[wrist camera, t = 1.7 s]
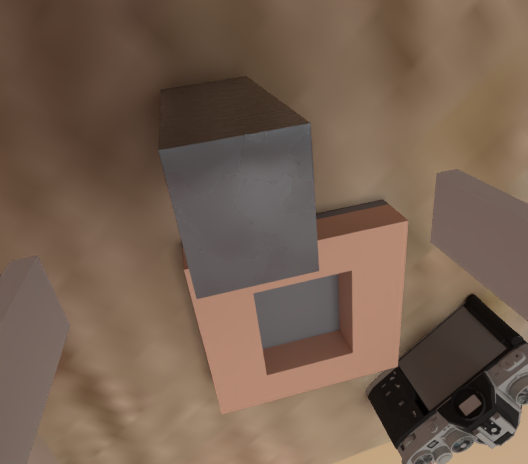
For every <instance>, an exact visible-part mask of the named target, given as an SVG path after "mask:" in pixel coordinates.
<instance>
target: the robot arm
mask: <svg viewBox="0 0 528 464" xmlns="http://www.w3.org/2000/svg"><path fill="white" fill-rule="evenodd" d="M430 242H431V243H432V244H434V245H435V246H436V247H437V248H439V249H440V250H441V251H442V252H443V253H445V254H446V255H447V256H448V257H450V258H451V259H452V260H453V261H454V262H456V263H457V264H458V265H459V266H461V267H462V268H463V269H464V270H465V271H467V272H468V273H469V274H470V275H472V276H473V277H474V278H475V279H476V280H478V281H479V282H480V283H481V284H483V285H484V286H485V287H486V288H487V289H489V290H490V291H491V292H492V293H494V294H495V295H496V296H497V297H499V298H500V299H501V300H502V301H503V302H505V303H506V304H507V305H508V306H510V307H511V308H512V309H513V310H514V311H516V312H517V313H518V314H519V315H521V316H522V317H523V318H524V319H525V320H527V321H528V204H527V203H525V202H523V201H521V200H519V199H517V198H515V197H513V196H511V195H509V194H507V193H505V192H503V191H501V190H499V189H497V188H495V187H493V186H491V185H489V184H487V183H484V182H482V181H480V180H478V179H476V178H474V177H472V176H470V175H468V174H466V173H464V172H462V171H460V170H458V169H454V170H450V171H445V172H440V173H437V177H436V188H435V198H434V209H433V220H432V230H431V241H430ZM69 327H70V324H69V321H68V319H67V317H66V315H65V313H64V311H63V309H62V307H61V304H60V302H59V300H58V298H57V296H56V294H55V292H54V289H53V287H52V285H51V283H50V281H49V279H48V277H47V274H46V272H45V270H44V268H43V266H42V264H41V262H40V259H39V257H38V256H33V257H28V258H23V259H19V260H14V261H10V263H9V265H8V266H7V268H6V269H5V271H4V272H3V274H2V275H1V277H0V464H27V462H28V458H29V455H30V452H31V449H32V446H33V442H34V439H35V436H36V433H37V430H38V426H39V423H40V420H41V417H42V414H43V411H44V407H45V404H46V401H47V398H48V395H49V391H50V388H51V385H52V382H53V379H54V375H55V372H56V369H57V366H58V363H59V359H60V356H61V353H62V350H63V347H64V343H65V340H66V337H67V334H68V331H69Z"/></svg>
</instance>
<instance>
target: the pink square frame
mask: <svg viewBox="0 0 528 464" xmlns="http://www.w3.org/2000/svg"><path fill="white" fill-rule="evenodd" d="M316 224H317V241H318V258H319V271H317V272H313V273H308V274H304V275H300V276H295V277H291V278H287V279H282V280H278V281H274V282H269V283H265V284H261V285H256V286H252V287H248V288H243V289H239V290H235V291H230V292H226V293H222V294H217V295H213V296H209V297H204V298H200V299H196V295H195V291H194V287H193V283H192V279H191V275H190V272H189V268H188V264H187V260H186V256H185V252H184V248H183V244H182V253H183V265H184V272H185V276H186V280H187V284H188V287H189V291H190V295H191V299H192V303H193V306H194V310H195V314H196V318H197V321H198V325H199V329H200V333H201V337H202V340H203V344H204V348H205V352H206V355H207V359H208V363H209V367H210V371H211V374H212V378H213V382H214V386H215V389H216V393H217V397H218V401H219V405H220V408H221V412H222V414H225V413H229V412H232V411H236V410H240V409H243V408H247V407H251V406H254V405H258V404H262V403H266V402H269V401H273V400H277V399H280V398H284V397H288V396H291V395H295V394H299V393H302V392H306V391H310V390H314V389H317V388H321V387H325V386H328V385H332V384H336V383H339V382H343V381H347V380H350V379H354V378H358V377H362V376H365V375H369V374H373V373H376V372H380V371H384V370H387V369H391V368H395V367H398V358H399V344H400V330H401V316H402V302H403V288H404V274H405V260H406V246H407V232H408V220H407V219H406V218H405V217H403V216H402V215H401V214H400V213H399V212H397V211H396V210H395V209H394V208H393V207H391V206H390V205H389V204H388V203H387V202H385V201H384V200H380V201H376V202H371V203H366V204H361V205H357V206H352V207H347V208H342V209H338V210H333V211H328V212H323V213H319V214H316Z"/></svg>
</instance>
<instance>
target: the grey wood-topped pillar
mask: <svg viewBox="0 0 528 464" xmlns="http://www.w3.org/2000/svg"><path fill="white" fill-rule="evenodd" d="M158 151H159V155H160V159H161V162H162V166H163V170H164V174H165V178H166V182H167V186H168V190H169V194H170V198H171V201H172V205H173V209H174V213H175V217H176V221H177V225H178V229H179V233H180V236H181V240H182V244H183V248H184V252H185V256H186V260H187V264H188V268H189V272H190V275H191V279H192V283H193V287H194V291H195V295H196V299H200V298H204V297H209V296H213V295H217V294H222V293H226V292H230V291H235V290H239V289H243V288H248V287H252V286H256V285H261V284H265V283H269V282H274V281H278V280H282V279H287V278H291V277H295V276H300V275H304V274H308V273H313V272H317V271H319V258H318V241H317V224H316V207H315V190H314V173H313V156H312V139H311V123H310V122H308V121H307V120H305V119H304V118H303V117H301V116H300V115H299V114H297V113H296V112H294V111H293V110H292V109H290V108H289V107H288V106H286V105H285V104H283V103H282V102H281V101H279V100H278V99H277V98H275V97H274V96H272V95H271V94H270V93H268V92H267V91H266V90H264V89H263V88H261V87H260V86H259V85H257V84H256V83H255V82H253V81H252V80H251V79H249V78H248V77H246V76H245V77H239V78H233V79H226V80H220V81H214V82H208V83H201V84H195V85H189V86H182V87H176V88H170V89H164V90H161V100H160V124H159V148H158Z"/></svg>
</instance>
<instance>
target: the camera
mask: <svg viewBox="0 0 528 464" xmlns="http://www.w3.org/2000/svg"><path fill="white" fill-rule="evenodd" d="M366 393H367V396H368V398H369V400H370V402H371V404H372V405H373V407H374V409H375V411H376V413H377V415H378V417H379V418H380V420H381V422H382V424H383V426H384V428H385V430H386V432H387V433H388V435H389V437H390V439H391V441H392V443H393V444H394V446H395V448H396V449H397V450H398V452H399V453H400V455H401V457H402V464H433V463H435V462H436V463H437V464H445V463H447V462H448V461H449V460H450V459H451V458H452V453H451V451H452V452H453V453H460V452H463V451H465V450H467V449H468V448H470V447H471V446H472V445H473V443H474V442H476V443H479V444H485V445H488V446H489V447H490V448H494V447H495V446H497V445H499V446H501V445H502V444H503V443H505V442H506V441H508V440H509V439H510V438H512V437H513V436H514V434H515V432H516V430H517V428H518V425H519V423H520V416H521V412H522V411H521V408H522V405H526V404H528V343H527V342H526V341H525V340H524V339H523V338H522V337H521V336H520V335H519V334H518V333H517V332H515V331H514V330H513V329H512V328H511V327H510V326H508V325H507V324H506V323H505V322H504V321H503V320H502V319H501V318H500V317H498V316H497V315H496V314H495V313H494V312H493V311H492V310H491V309H490V308H488V307H487V306H486V305H485V304H484V303H483V302H482V301H481V300H480V299H479V298H478V297H477V296H476V295H473V296H471V297H470V298H469V299H468V300H467V301H465V302H464V303H463V304H462V305H461V306H460V307H458V308H457V309H456V310H455V311H454V312H453V313H451V314H450V315H449V316H448V317H447V318H445V319H444V320H443V321H442V322H441V323H440V324H438V325H437V326H436V327H435V328H434V329H433V330H432V331H430V332H429V333H428V334H427V335H426V336H425V337H423V338H422V339H421V340H420V341H419V342H418V343H416V344H415V345H414V346H413V347H412V348H411V349H409V350H408V351H407V352H406V353H405V354H404V355H402V356H401V357H400V358H399V359H398V367H395V368H391V369H387V370H385V371H384V372H383V373H382V374H380V375H379V376H378V377H377V378H376V379H375V380H374V381H373V382H371V384H370V385H369V386H368V388H367V390H366ZM450 450H451V451H450Z"/></svg>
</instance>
